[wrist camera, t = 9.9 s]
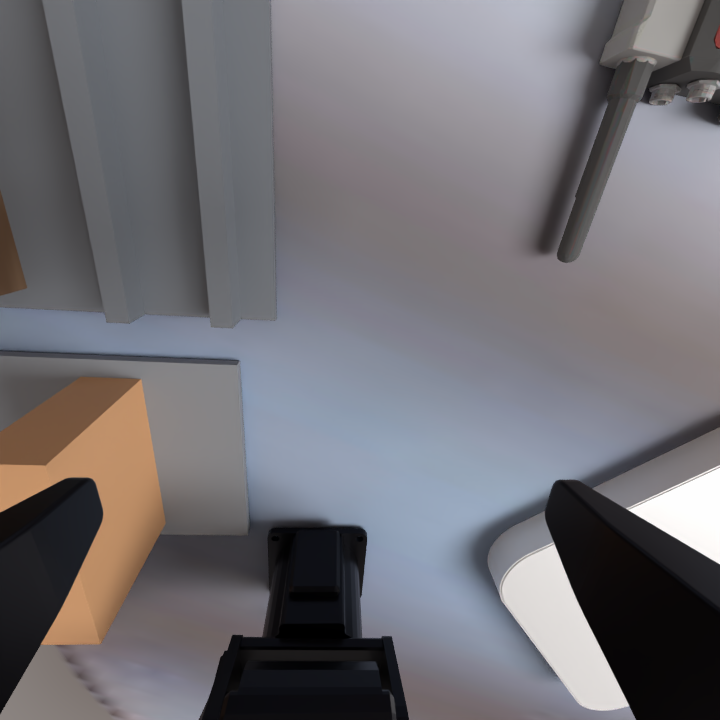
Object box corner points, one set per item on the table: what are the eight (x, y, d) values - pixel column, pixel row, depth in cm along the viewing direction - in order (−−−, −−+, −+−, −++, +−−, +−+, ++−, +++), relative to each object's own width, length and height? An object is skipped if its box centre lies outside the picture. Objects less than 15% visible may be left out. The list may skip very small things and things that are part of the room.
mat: (250, 527, 25) (247, 535, 24) (41, 526, 24) (34, 533, 23) (239, 360, 20) (237, 365, 20) (-20, 350, 19) (-30, 354, 19)
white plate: (469, 541, 27) (483, 576, 25) (787, 388, 23) (840, 410, 21) (573, 683, 35) (591, 720, 32) (823, 585, 31) (865, 619, 29)
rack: (276, 317, 19) (270, 330, 18) (-36, 302, 18) (-78, 313, 17) (270, -10, 14) (260, -40, 13) (-160, -58, 13) (-240, -99, 12)
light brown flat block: (165, 523, 24) (100, 644, 17) (115, 522, 23) (30, 644, 17) (141, 379, 20) (45, 465, 13) (81, 376, 20) (-46, 463, 13)
